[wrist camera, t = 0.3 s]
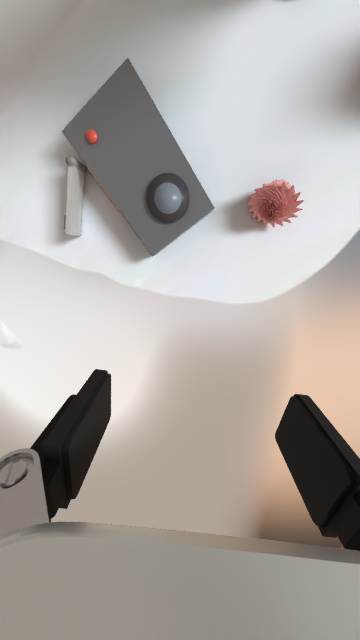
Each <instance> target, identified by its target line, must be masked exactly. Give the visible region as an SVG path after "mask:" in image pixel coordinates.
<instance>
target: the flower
mask: <svg viewBox="0 0 360 640" xmlns="http://www.w3.org/2000/svg"><path fill="white" fill-rule="evenodd" d="M255 191H256V193H255V194H253V195H251V196H249V197H250V198H252V200H251V201H250V202H249V203H248V204H247V205H252V207H251V208H250V210H249V211H248V212H253V211H254V213H253V216H252V219H253V218H255V217H256V216H257V217H258V222H257V223H259V222H260V221H261V220H263V222H264V225H265V226H266V225H267V222H269V223H270V224H271V225H272V226H273V227H274V223H276V224H279V225H281V226H283V224H282V222H281V221H285V222H289V223H291V221H290V220H289V219H287V218H290V217H298V216H296V215H295V214H293V213H295V212H297V211H299V210H302V209H301V208H296V207H297V206H298V205H299V204H301V203H302V202H303V201H304V200H301V201H296V200H297V198H298V197H299V195H300V192H299V193H297V194H295V190H294V185H293V186H291V185H289V182H287V183H286V182H285V181H283V179H282V180H281V181H277V180H275V181H273V182H272V183H270V184H263V188H258V189H255Z"/></svg>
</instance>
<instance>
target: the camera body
mask: <svg viewBox="0 0 360 640" xmlns="http://www.w3.org/2000/svg"><path fill="white" fill-rule="evenodd" d="M62 132H63V133H64V135H65V136H66V138H67V139H68V140H69V142H70V143H71V144H72V146H73V147H74V149H75V150H76V151H77V153H78V154H79V156H80V157H81V158H82V160H83V161H84V162H85V164H86V165H87V169H88V170H89V171H90V173H91V174H92V176H93V177H94V178H95V180H96V181H97V182H98V184H99V185H100V187H101V188H102V189H103V191H104V192H105V193H106V195H107V196H108V198H109V199H110V200H111V202H112V203H113V204H114V206H115V207H116V209H117V210H118V211H120V212H121V213H122V215H123V216H124V218H125V219H126V220H127V222H128V223H129V225H130V226H131V227H132V229H133V230H134V231H135V233H136V234H137V236H138V237H139V238H140V240H141V241H142V242H143V244H144V245H145V247H146V248H147V249H148V251H149V252H150V254H151V255H152V256H154V255H156V254H157V253H159V252H160V251H161V250H163V249H164V248H165V247H166V246H168V245H169V244H170V243H172V242H173V241H174V240H175V239H177V238H178V237H179V236H181V235H182V234H183V233H184V232H186V231H187V230H188V229H190V228H191V227H192V226H193V225H195V224H196V223H197V222H199V221H200V220H201V219H203V218H204V217H205V216H206V215H208V214H209V213H210V212H211V211H212V210H213V209H214V207H213V205H212V203H211V201H210V200H209V198H208V196H207V194H206V193H205V191H204V189H203V187H202V186H201V184H200V182H199V180H198V179H197V177H196V175H195V173H194V172H193V170H192V168H191V167H190V165H189V163H188V161H187V160H186V158H185V156H184V154H183V153H182V151H181V149H180V147H179V146H178V144H177V142H176V140H175V139H174V137H173V135H172V133H171V132H170V130H169V128H168V126H167V125H166V123H165V121H164V120H163V118H162V116H161V114H160V113H159V111H158V109H157V107H156V106H155V104H154V102H153V100H152V99H151V97H150V95H149V93H148V92H147V90H146V88H145V86H144V85H143V83H142V81H141V80H140V78H139V76H138V74H137V73H136V71H135V69H134V67H133V66H132V64H131V62H130V60H129V59H128V58H127V59H126V60H125V61H124V62H123V64H122V65H121V66H120V67H119V68H118V69H117V70H116V71H115V73H114V74H113V75H112V76H111V77H110V78H109V79H108V80H107V81H106V83H105V84H104V85H103V86H102V87H101V88H100V89H99V90H98V92H97V93H96V94H95V95H94V96H93V97H92V98H91V99H90V100H89V102H88V103H87V104H86V105H85V106H84V107H83V108H82V109H81V111H80V112H79V113H78V114H77V115H76V116H75V117H74V118H73V119H72V121H71V122H70V123H69V124H68V125H67V126H66V127H65V128H64V130H63V131H62Z"/></svg>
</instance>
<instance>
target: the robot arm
mask: <svg viewBox="0 0 360 640" xmlns="http://www.w3.org/2000/svg"><path fill="white" fill-rule="evenodd" d="M110 416H111V374H108V372H107V371H105V370H98V369H96V370H94V371H93V373H92V374H91V376H90V377H89V378H88V380H87V381H86V383H85V384H84V385H83V387H82V388H81V390H80V391H79V392H78V394H77V395H71V396H70V397H69V398H68V399H67V400H66V402H65V403H64V404H63V406H62V407H61V409H60V410H59V411H58V412H57V414H56V415H55V417H54V418H53V419H52V420H51V422H50V423H49V424H48V426H47V427H46V428H45V430H44V431H43V432H42V433H41V435H40V436H39V438H38V439H37V440H36V441H35V443H34V444H33V446H32V447H31V448H30V449H28V448H26V449H18V450H15V451H12V452H10V453H8V454H6V455H4V456H3V457H1V458H0V640H360V459H359V457H358V456H357V455H356V454H355V452H354V451H353V450H352V449H351V447H350V446H349V445H348V444H347V442H346V441H345V440H344V439H343V437H342V436H341V435H340V434H339V433H338V432H337V430H336V429H335V428H334V426H333V425H332V424H331V423H330V421H329V420H328V419H327V418H326V417H325V415H324V414H323V413H322V412H321V410H320V409H319V408H318V407H317V405H316V404H315V403H314V402H313V401H312V399H311V398H310V397H309V396H307V395H300V394H295V395H294V396H293V397H291V398H290V400H289V402H288V405H287V407H286V409H285V412H284V414H283V417H282V419H281V421H280V424H279V426H278V428H277V431H276V434H275V439H276V442H277V444H278V446H279V448H280V451H281V453H282V455H283V457H284V459H285V462H286V463H287V466H288V468H289V470H290V472H291V475H292V477H293V479H294V481H295V483H296V486H297V488H298V490H299V492H300V494H301V496H302V499H303V500H304V503H305V505H306V507H307V510H308V512H309V514H310V516H311V518H312V520H313V522H314V523H315V524H316V525H318V527H319V529H320V532H321V534H322V536H325V537H334V538H335V537H337V536H338V538H339V539H340V541H341V543H342V545H341V548H333V547H323V546H315V545H307V544H297V543H289V542H280V541H271V540H262V539H252V538H243V537H234V536H224V535H215V534H205V533H195V532H186V531H176V530H166V529H156V528H146V527H136V526H126V525H112V524H100V523H87V522H52V523H51V518H53V517H54V516H55V514H56V513H57V510H58V508H65V509H67V507H68V505H69V503H70V500H71V499H75V498H76V496H77V495H78V493H79V490H80V488H81V486H82V483H83V481H84V479H85V476H86V474H87V472H88V469H89V467H90V465H91V462H92V460H93V458H94V455H95V453H96V451H97V448H98V446H99V444H100V441H101V439H102V437H103V434H104V432H105V430H106V427H107V425H108V423H109V420H110Z"/></svg>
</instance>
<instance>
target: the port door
mask: <svg viewBox="0 0 360 640" xmlns="http://www.w3.org/2000/svg"><path fill="white" fill-rule="evenodd" d="M66 162H67V164H68V177H67V202H66V215H65V220H64V229H65V234H67V235H74V236H81V223H82V208H83V192H84V177H85V174H86V172H87V169H86V167H85V166H84V165H83V164H81V163H80V162H79V161H77V160H76V159H75V158H73V157H72V156H70V155H69V156H67V157H66Z"/></svg>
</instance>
